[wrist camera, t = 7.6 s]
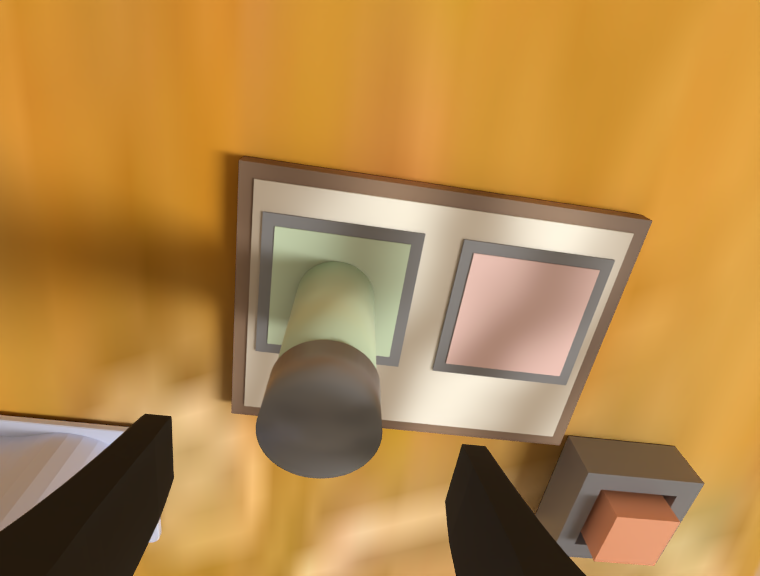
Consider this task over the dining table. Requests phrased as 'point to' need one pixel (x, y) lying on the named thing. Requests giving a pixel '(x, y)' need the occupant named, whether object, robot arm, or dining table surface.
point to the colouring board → (437, 292)
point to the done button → (629, 527)
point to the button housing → (611, 483)
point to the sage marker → (325, 378)
